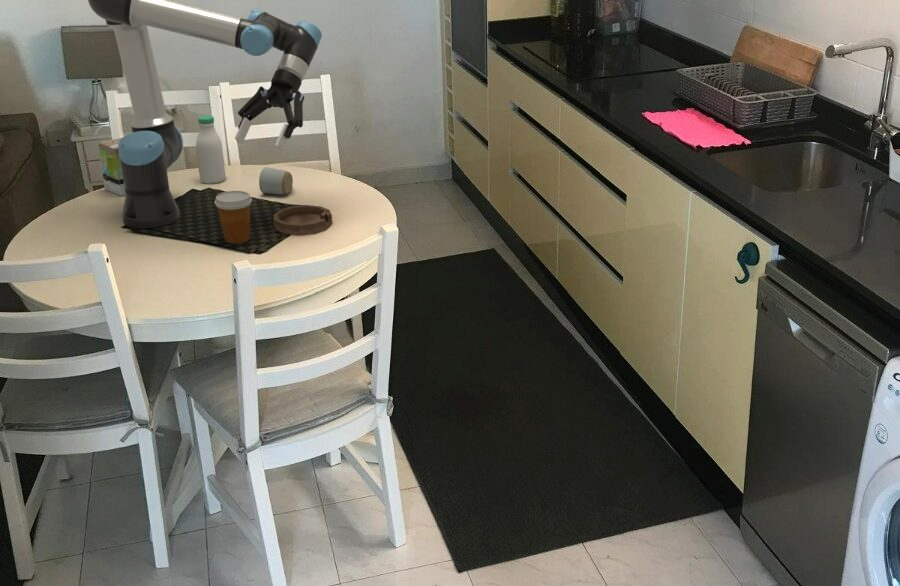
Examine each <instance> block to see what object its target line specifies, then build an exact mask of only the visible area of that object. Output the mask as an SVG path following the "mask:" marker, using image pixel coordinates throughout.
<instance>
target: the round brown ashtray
mask: <svg viewBox="0 0 900 586" xmlns="http://www.w3.org/2000/svg"><path fill="white" fill-rule="evenodd" d="M272 218H273V226H275V227H274V230H275V229H276V230H278V231H277V232H279V231H280V232H279V233H281V232H282V233H281V234H283V233H284V235H293V236H307V235H315V234H318V233H319V234H320V233H322V232H324V231H327V230H328V229H329V228H331V226H332V225H333V216H332V212H331V210H330V209H329V208H327V207H323V206H320V205H311V204H301V205H291V206H288V207H285V208H281V209H278V211H276V212H275V213H274V214H273V215H272ZM276 230H275V231H276Z"/></svg>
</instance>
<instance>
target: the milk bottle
mask: <svg viewBox="0 0 900 586" xmlns="http://www.w3.org/2000/svg"><path fill="white" fill-rule="evenodd" d="M197 121H198V125H199V130H198V131H199V132H198V135H197V136H196V137H197V138H196V144H195V146H196V148H195V149H196V157H197V166H198V174H199V181H200V182H201V183H202V184H210V185H212V184H219V183H221V182H225V180H226V170H225V169H226V168H225V167H226V166H225V159H224V152H223V146H222V145H223V143H222V141H221V138H220V136H219V134H218V132H217V131H216V127H215V126H214V125H215V118H214V116H213V115H209V114H207V115H205V114H204V115H200V116H199V117H198V118H197Z"/></svg>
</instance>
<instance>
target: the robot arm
mask: <svg viewBox="0 0 900 586" xmlns="http://www.w3.org/2000/svg"><path fill="white" fill-rule="evenodd" d="M87 1H88V4H89V6H90V8H91V10H92V11H93V13H95V14H96V16H98V17H100V18H101V19H103V20H105V24H106V26H107V27H108V28H110V29H111V30H113V32H114V35H115V39H116V44H117V49H118V52H119V57H120V60H121V66H122V69H123V72H124V73H123V74H124V78H125V82H126V85H127V86H126V87H127V90H128V95H129V98H130V103H131V108H132V111H133V116H134V119H133V120H132V121H131V123H130V127H131V130H132V131H131V133H127V134H125V135H123V136H122V137H120V138H121V140H120V141H119V144H118V147H119V151H118V152H119V153H118V154H119V157H120V163H121V169H122V175H123V181H124V187H125V194H126V195H124V196H125V197H124V202H123V207H122V214H121V216H122V222H123V224H124V225H125V226H127V227H130V228H134V229H135V228H136V229H152V228H160V227H164V226H167V225H170V224H173V223H174V222H176V221H177V220H179V219H180V215H181V214H180V208H179V206H178V204H177V203H176V200H175V198H174V197H173V193H172V192H171V190H170V183H169V176H168V169H169V168H170V167H171V166H172V165H173V164H174V163H176V162H177V160H178V159H179V158H180V156H181V153H182V151H183V148H184V140H183V135H182V132H181V131H180V130H179V129H178V127H176V125H175V121H174V120H175V119H174V117H173V116H171V115H170V114H168V113H167V110H166V105H165V101H164V96H163V92H162V88H161V83H160V79H159V75H158V70H157V65H156V61H155V56H154V53H153V49H152V48H153V47H152V42H151V38H150V34H149V30H148V27H152V28H156V29H160V30H164V31H168V32H173V33H175V34H181V35H184V36H187V37H191V38H192V37H193V38H196V39H200V40H205V41H208V42H213V43H216V44H220V45H223V46H224V45H225V46H229V47H233V48H236V49H240V50H243V51H244V52H245V53H247V55H250V56H253V57H259V56H263V55H265V54H266V53H268V52H269V51H270V50H271V49H272V48H275V49H276V50H278V51H282V52H283V54H282V56H281V57H280V60H279V62H278V64H277V66H276V70H275V71H274V73H273V75H272V77H271V80H270V87H269V88H268V89H267V88H264V87H263V86H260V87H259V88H257V91H256V92H255V94H254V95H253V96H251V98H250V99H249V100H248V101H247V102H245V104H244V105H243V106H242V107H241V108H240V109H239V110H238V111H237V115H238V116H240V118H241V120H240V123H239V125H238V127H237V129H238V130H237V132H236V134H235V136H234V139H235V140H236V142H237V143H238V144H239V145H243V144H244V141H245V139H246V137H247V136H248V135H247V134H248V132H249V130H250V128H251V126H252V124H253V122H251V121H252V120H254V119H255V118H256V117H258V116H259V115H261V114H262V113H263V112H265V111H267V109H271V108H279V109H283V111H284V115H285V118H286V123H284V124H283V126H282V129H281V130H280V132H279V135H278V137H277V139H276V142H275V144H274V146H275V147H276V148H277V149H278V150H279V151H281V152H283V150H284V148H285V146H286V144H287V142H288V140H289V139H291V137H292V135H293V132H294V130H296V128H298V127H299V128H300V129H301V128H302V127H303V126H304V119H303V118H304V112H303V111H304V110H303V109H304V107H303V106H304V105H303V103H304V100H305V96H304V95H303V94H302V92H301V91H300V88H301V86H302V83H303V82H302V81H304V78H305V76H306V74H307V71H308V70H309V67H310V64H311V63H312V61H313V59H314V57H315V55H316V52H317V50H318V48H319V44H320V43H321V39H322V36H323V35H322V31H321V30H320V28H319V27H318V26H317V25H316V24H315V23H312V22H310V21H306V20H299V21H297V23H296V24H295V25H294V24H291V23H288V22H286V21H284V20H282V19H280V18H278V17H276V16H274V15H273V14H270V13H268V12H267V11H262V10H260V9H259V8H254V9H252V10H251V11H250V13H249V15H248V16H247V19H246V18H242V17H238V16H234V15H231V14H226V13H223V12H218V11H214V10H212V9H211V10H210V9H207V8H203V7H199V6H195V5H190V4H186V3H183V2H179V1H175V0H87ZM291 102H293V108H292V105H291ZM292 109H293V110H292Z"/></svg>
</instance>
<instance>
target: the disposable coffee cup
mask: <svg viewBox="0 0 900 586" xmlns="http://www.w3.org/2000/svg"><path fill="white" fill-rule="evenodd" d="M252 201H253V199H252V196H251V195H250V193H249V192H248V191H244V190H227V191H224V192H220V193H218V194H217V195H216V197H215V200H214V205H215V206H216V208H217V212H218V216H219V220H220V224H221V225H220V226H221V229H222V232H223V237H224V240H225V242H226V243H229V244H235V245H236V244H243V243H246V242H248V241H249V240H250V237H251V236H250V235H251V233H250V232H251V204H252Z"/></svg>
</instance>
